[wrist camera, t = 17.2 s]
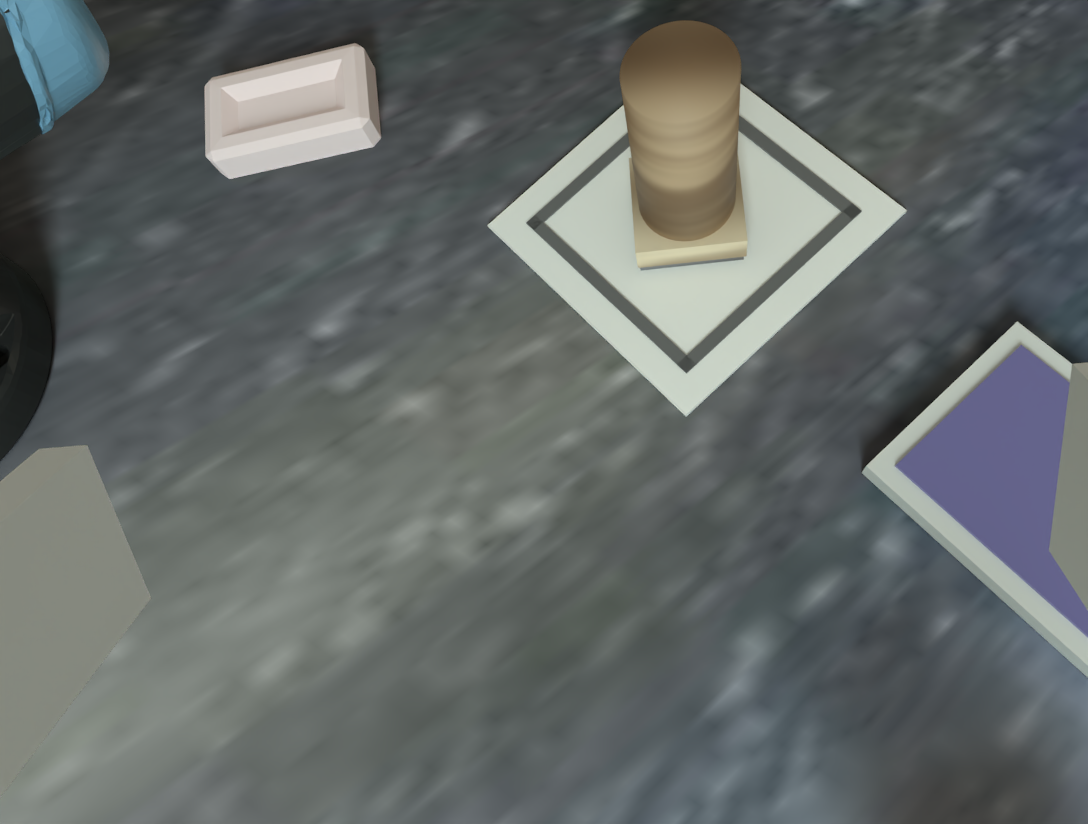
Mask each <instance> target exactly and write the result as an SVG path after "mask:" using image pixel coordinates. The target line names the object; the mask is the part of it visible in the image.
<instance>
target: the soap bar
mask: <svg viewBox="0 0 1088 824" xmlns="http://www.w3.org/2000/svg"><path fill="white" fill-rule="evenodd" d="M380 139H381V130H380V118H379V107H378V95H377V84H376V72H375V68H374V66H373V64H372V62H371V60H370V58H369V56H368V55H367V53H366V51H365V49H364V48H363V47H361V46H360V45H358V44H356V43H353V44H349V45H345V46H341V47H337V48H333V49H328V50H324V51H320V52H316V53H312V54H308V55H304V56H299V57H295V58H291V59H287V60H283V61H279V62H275V63H271V64H266V65H262V66H258V67H254V68H250V69H246V70H242V71H237V72H233V73H229V74H225V75H221V76H217V77H213V78H211V80H210V81H209V82H208V83H207V84H206V85H205V151H206V157H207V159H208V160H209V161H210V162H211V163H212V164H213V165H214V166H215V167H216V168H217V169H218V170H219V171H220V172H221V173H222V174H223V175H224V176H226V177H227V178H229V179H232V178H236V177H241V176H245V175H250V174H254V173H259V172H263V171H268V170H272V169H277V168H281V167H286V166H290V165H295V164H299V163H303V162H308V161H312V160H317V159H321V158H326V157H330V156H335V155H339V154H344V153H348V152H353V151H357V150H362V149H366V148H371V147H374V146H375V145H376V143H377V142H378V141H379V140H380Z"/></svg>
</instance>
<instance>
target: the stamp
mask: <svg viewBox="0 0 1088 824" xmlns="http://www.w3.org/2000/svg"><path fill="white" fill-rule="evenodd" d="M740 83H741V60H740V55H739V52H738V50H737V48H736V46H735V44H734V43H733V41H732V40H731V39H730V38H729V37H728V36H727V35H726V34H725V33H724V32H722V31H721V30H719V29H718V28H716V27H714V26H712V25H709V24H706V23H702V22H698V21H684V20H683V21H674V22H669V23H665V24H662V25H659V26H657V27H655V28H652V29H651V30H649V31H647V32H646V33H644V34H643V35H641V36H640V37H639V38H638V39H637V40H636V41H635V42H634V43H633V44H632V45H631V46H630V48H629V49H628V51H627V52H626V54H625V56H624V58H623V61H622V64H621V68H620V84H621V91H622V97H623V104H624V111H625V117H626V124H627V131H628V137H629V144H630V151H631V157H632V158H629V169H630V183H631V198H632V212H633V226H634V241H635V254H636V260H637V266H638V268H640V269H641V271H642V270H651V269H660V268H670V267H679V266H688V265H698V264H707V263H716V262H726V261H735V260H744V257H745V256H747V242H748V240H747V231H746V222H745V213H744V204H743V195H742V186H741V177H740V169H739V160H738V129H739V106H740Z"/></svg>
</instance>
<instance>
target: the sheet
mask: <svg viewBox="0 0 1088 824" xmlns="http://www.w3.org/2000/svg"><path fill="white" fill-rule="evenodd" d="M629 158H632V157H631V151H630V144H629V137H628V131H627V124H626V117H625V111H624V105H623V106H622V107H620V108H619V109H618V110H617V111H616V112H615V113H614V114H613V115H611V116H610V117H609V118H608V119H607V120H606V121H605V122H604V123H602V124H601V125H600V126H599V127H598V128H597V129H596V130H594V131H593V132H592V133H591V134H590V135H589V136H588V137H587V138H585V139H584V140H583V141H582V142H581V143H580V144H579V145H578V146H576V147H575V148H574V149H573V150H572V151H571V152H570V153H568V154H567V155H566V156H565V157H564V158H563V159H562V160H561V161H559V162H558V163H557V164H556V165H555V166H554V167H553V168H552V169H550V170H549V171H548V172H547V173H546V174H545V175H544V176H543V177H541V178H540V179H539V180H538V181H537V182H536V183H535V184H533V185H532V186H531V187H530V188H529V189H528V190H527V191H526V192H524V193H523V194H522V195H521V196H520V197H519V198H518V199H517V200H515V201H514V202H513V203H512V204H511V205H510V206H509V207H507V208H506V209H505V210H504V211H503V212H502V213H501V214H500V215H498V216H497V217H496V218H495V219H494V220H493V221H492V222H491V223H489V224H488V227H489V228H490V229H491V230H492V231H493V232H494V233H495V234H496V235H497V236H498V237H499V238H500V239H501V240H502V241H503V242H504V243H505V244H507V245H508V246H509V247H510V248H511V249H512V250H513V251H514V252H515V253H516V254H517V255H518V256H519V257H520V258H521V259H522V260H523V261H524V262H525V263H526V264H527V265H528V266H529V267H531V268H532V269H533V270H534V271H535V272H536V273H537V274H538V275H539V276H540V277H541V278H542V279H543V280H544V281H545V282H546V283H547V284H548V285H549V286H550V287H551V288H552V289H553V290H554V291H556V292H557V293H558V294H559V295H560V296H561V297H562V298H563V299H564V300H565V301H566V302H567V303H568V304H569V305H570V306H571V307H572V308H573V309H574V310H575V311H576V312H577V313H578V314H580V315H581V316H582V317H583V318H584V319H585V320H586V321H587V322H588V323H589V324H590V325H591V326H592V327H593V328H594V329H595V330H596V331H597V332H598V333H599V334H600V335H601V336H602V337H603V338H605V339H606V340H607V341H608V342H609V343H610V344H611V345H612V346H613V347H614V348H615V349H616V350H617V351H618V352H619V353H620V354H621V355H622V356H623V357H624V358H625V359H626V360H627V361H628V362H630V363H631V364H632V365H633V366H634V367H635V368H636V369H637V370H638V371H639V372H640V373H641V374H642V375H643V376H644V377H645V378H646V379H647V380H648V381H649V382H650V383H651V384H652V385H654V386H655V387H656V388H657V389H658V390H659V391H660V392H661V393H662V394H663V395H664V396H665V397H666V398H667V399H668V400H669V401H670V402H671V403H672V404H673V405H674V406H675V407H676V408H677V409H679V410H680V411H681V412H682V413H683V414H684V415H685V416H687V415H689V414H690V413H691V412H692V411H693V410H694V409H695V408H696V407H697V406H698V405H699V404H700V403H701V402H703V401H704V400H705V399H706V398H707V397H708V396H709V395H710V394H711V393H712V392H713V391H714V390H715V389H717V388H718V387H719V386H720V385H721V384H722V383H723V382H724V381H725V380H726V379H727V378H728V377H729V376H730V375H732V374H733V373H734V372H735V371H736V370H737V369H738V368H739V367H740V366H741V365H742V364H743V363H744V362H746V361H747V360H748V359H749V358H750V357H751V356H752V355H753V354H754V353H755V352H756V351H757V350H758V349H760V348H761V347H762V346H763V345H764V344H765V343H766V342H767V341H768V340H769V339H770V338H771V337H772V336H774V335H775V334H776V333H777V332H778V331H779V330H780V329H781V328H782V327H783V326H784V325H785V324H786V323H788V322H789V321H790V320H791V319H792V318H793V317H794V316H795V315H796V314H797V313H798V312H799V311H800V310H802V309H803V308H804V307H805V306H806V305H807V304H808V303H809V302H810V301H811V300H812V299H813V298H814V297H816V296H817V295H818V294H819V293H820V292H821V291H822V290H823V289H824V288H825V287H826V286H827V285H828V284H829V283H831V282H832V281H833V280H834V279H835V278H836V277H837V276H838V275H839V274H840V273H841V272H842V271H843V270H845V269H846V268H847V267H848V266H849V265H850V264H851V263H852V262H853V261H854V260H855V259H856V258H857V257H859V256H860V255H861V254H862V253H863V252H864V251H865V250H866V249H867V248H868V247H869V246H870V245H871V244H873V243H874V242H875V241H876V240H877V239H878V238H879V237H880V236H881V235H882V234H883V233H884V232H885V231H887V230H888V229H889V228H890V227H891V226H892V225H893V224H894V223H895V222H896V221H897V220H898V219H899V218H901V217H902V216H903V215H904V214H905V213H906V211H907V210H906V209H904V208H903V207H902V206H900V205H899V204H898V203H896V202H895V201H894V200H893V199H891V198H890V197H889V196H887V195H886V194H885V193H883V192H882V191H881V190H879V189H878V188H877V187H876V186H874V185H873V184H872V183H870V182H869V181H868V180H866V179H865V178H864V177H862V176H861V175H860V174H858V173H857V172H856V171H855V170H853V169H852V168H851V167H849V166H848V165H847V164H845V163H844V162H843V161H841V160H840V159H839V158H838V157H836V156H835V155H834V154H832V153H831V152H830V151H828V150H827V149H826V148H824V147H823V146H822V145H821V144H819V143H818V142H817V141H815V140H814V139H813V138H811V137H810V136H809V135H807V134H806V133H805V132H803V131H802V130H801V129H800V128H798V127H797V126H796V125H794V124H793V123H792V122H790V121H789V120H788V119H786V118H785V117H784V116H783V115H781V114H780V113H779V112H777V111H776V110H775V109H773V108H772V107H771V106H769V105H768V104H767V103H765V102H764V101H763V100H762V99H760V98H759V97H758V96H756V95H755V94H754V93H752V92H751V91H750V90H748V89H747V88H746V87H745V86H743V85H742V84H741V83H740V106H739V129H738V160H739V169H740V177H741V186H742V195H743V204H744V213H745V222H746V231H747V240H748V242H747V256H745V257H744V260H735V261H726V262H716V263H707V264H698V265H688V266H679V267H670V268H660V269H651V270H642V271H641V269H640V268H638V266H637V260H636V254H635V241H634V226H633V212H632V198H631V183H630V169H629Z"/></svg>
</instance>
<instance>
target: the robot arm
mask: <svg viewBox="0 0 1088 824" xmlns="http://www.w3.org/2000/svg"><path fill="white" fill-rule="evenodd" d="M108 67H109V49H108V45H107V41H106V39H105V36H104V34H103V33H102V31H101V29H100V27H99V26H98V24H97V22H96V20H95V19H94V17H93V15H92V14H91V12H90V10H89V9H88V7H87V6H86V4H85V2H84V1H83V0H0V159H2V158H4V157H5V156H7V155H8V154H10V153H11V152H13V151H15V150H16V149H18V148H19V147H21V146H22V145H24V144H26V143H27V142H29V141H30V140H32V139H34V138H35V137H37V136H38V135H40V134H44V133H46V132H48V131H49V130H51V129H52V127H53V125H54V121H56V120H57V119H58V118H60V117H61V116H62V115H63V114H65V113H66V112H67V111H69V110H70V109H71V108H73V107H74V106H75V105H77V104H78V103H79V102H80V101H82V100H83V99H84V98H86V97H87V96H88V95H90V94H91V93H92V92H94V91H95V90H96V89H97V88H98V87H99V86H100V84H101V83H102V82H103V80H104V76H105V75H106V73H107V71H108ZM51 353H52V331H51V323H50V318H49V313H48V310H47V307H46V304H45V301H44V299H43V296H42V294H41V293H40V291H39V289H38V287H37V286H36V284H35V283H34V281H33V280H32V279H31V278H30V276H29V275H28V274H27V273H26V272H25V271H24V270H23V269H22V268H20V267H19V266H18V265H17V264H15V263H14V262H12V261H11V260H9V259H8V258H6V257H4V256H3V255H1V254H0V460H1V459H2V458H3V457H4V456H5V455H6V454H7V453H8V451H9V450H10V449H11V448H12V447H13V445H14V444H15V443H16V441H17V440H18V439H19V437H20V436H21V434H22V433H23V431H24V430H25V428H26V426H27V425H28V423H29V421H30V420H31V418H32V416H33V414H34V412H35V410H36V408H37V406H38V403H39V401H40V399H41V396H42V393H43V391H44V387H45V384H46V381H47V377H48V373H49V368H50V362H51ZM1049 551H1050V553H1051V555H1052V556H1053V558H1054V559H1055V561H1056V562H1057V564H1058V565H1059V567H1060V568H1061V570H1062V572H1063V573H1064V575H1065V576H1066V578H1067V579H1068V581H1069V582H1070V584H1071V585H1072V587H1073V589H1074V590H1075V592H1076V593H1077V595H1078V596H1079V598H1080V599H1081V601H1082V602H1083V604H1084V606H1085V607H1086V609H1087V610H1088V363H1076V364H1072V369H1071V377H1070V385H1069V393H1068V401H1067V409H1066V417H1065V425H1064V433H1063V441H1062V449H1061V457H1060V465H1059V473H1058V481H1057V489H1056V498H1055V506H1054V514H1053V522H1052V530H1051V538H1050V546H1049ZM150 599H151V597H150V594H149V592H148V589H147V587H146V585H145V582H144V580H143V578H142V575H141V573H140V570H139V568H138V566H137V563H136V561H135V558H134V556H133V554H132V551H131V549H130V546H129V544H128V542H127V539H126V537H125V535H124V532H123V530H122V527H121V525H120V523H119V520H118V518H117V515H116V513H115V511H114V508H113V506H112V503H111V501H110V499H109V496H108V494H107V492H106V489H105V487H104V484H103V482H102V480H101V477H100V475H99V472H98V470H97V468H96V465H95V463H94V461H93V458H92V456H91V453H90V451H89V449H88V446H87V445H81V446H68V447H56V448H44V449H38V450H37V451H36V452H35V453H34V454H32V455H31V456H30V457H29V458H28V459H26V460H25V461H24V462H23V463H22V464H20V465H19V466H18V467H17V468H16V469H14V470H13V471H12V472H11V473H10V474H8V475H7V476H6V477H5V478H4V479H3V480H1V481H0V798H1V796H2V795H3V794H4V792H5V791H6V790H7V788H8V787H9V786H10V784H11V783H12V782H13V780H14V779H15V778H16V776H17V775H18V774H19V772H20V771H21V770H22V768H23V767H24V766H25V764H26V763H27V762H28V760H29V759H30V758H31V756H32V755H33V754H34V753H35V751H36V750H37V749H38V747H39V746H40V745H41V743H42V742H43V741H44V739H45V738H46V737H47V735H48V734H49V733H50V731H51V730H52V729H53V727H54V726H55V725H56V723H57V722H58V721H59V719H60V718H61V717H62V715H63V714H64V713H65V711H66V710H67V709H68V707H69V706H70V705H71V703H72V702H73V701H74V700H75V698H76V697H77V696H78V694H79V693H80V692H81V690H82V689H83V688H84V686H85V685H86V684H87V682H88V681H89V680H90V678H91V677H92V676H93V674H94V673H95V672H96V670H97V669H98V668H99V666H100V665H101V664H102V662H103V661H104V660H105V658H106V657H107V656H108V654H109V653H110V652H111V650H112V649H113V648H114V647H115V645H116V644H117V643H118V641H119V640H120V639H121V637H122V636H123V635H124V633H125V632H126V631H127V629H128V628H129V627H130V625H131V624H132V623H133V621H134V620H135V619H136V617H137V616H138V615H139V613H140V612H141V611H142V609H143V608H144V607H145V605H146V604H147V603H148V601H149V600H150Z"/></svg>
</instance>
